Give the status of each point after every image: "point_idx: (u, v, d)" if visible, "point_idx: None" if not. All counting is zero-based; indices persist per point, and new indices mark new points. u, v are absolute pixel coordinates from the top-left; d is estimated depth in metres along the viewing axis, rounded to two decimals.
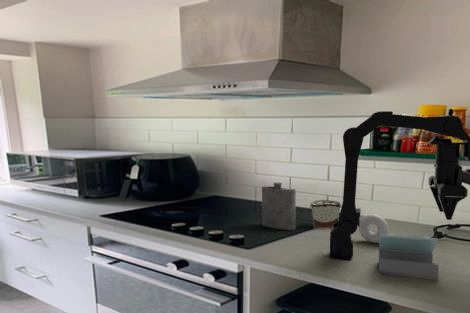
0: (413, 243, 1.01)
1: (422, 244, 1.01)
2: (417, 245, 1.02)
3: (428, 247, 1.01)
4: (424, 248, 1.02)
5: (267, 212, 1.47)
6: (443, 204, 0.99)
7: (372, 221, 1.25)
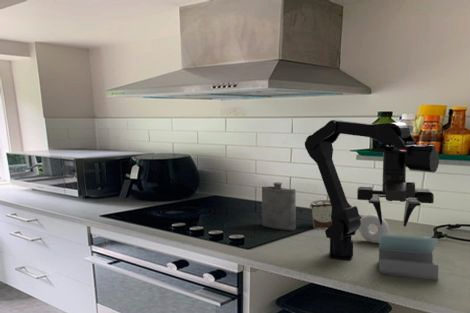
0: (413, 243, 1.01)
1: (422, 244, 1.01)
2: (417, 245, 1.02)
3: (428, 247, 1.01)
4: (424, 248, 1.02)
5: (267, 212, 1.47)
6: None
7: (372, 221, 1.25)
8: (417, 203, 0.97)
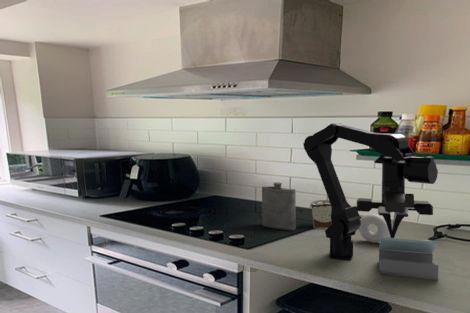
0: (413, 245, 1.01)
1: (422, 246, 1.00)
2: (417, 247, 1.01)
3: (428, 249, 1.01)
4: (424, 249, 1.02)
5: (267, 212, 1.47)
6: None
7: (372, 221, 1.25)
8: (405, 214, 0.97)
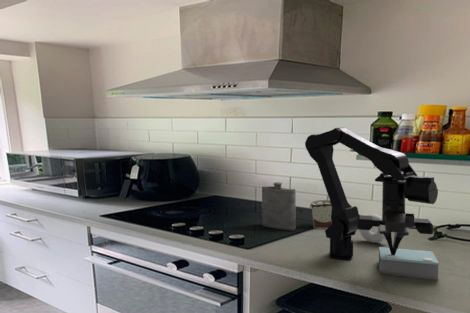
0: None
1: None
2: None
3: None
4: None
5: (267, 212, 1.47)
6: None
7: None
8: (405, 233, 0.98)
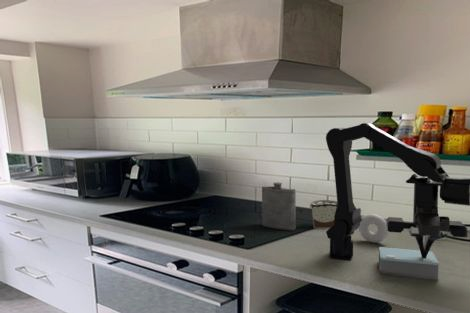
0: None
1: None
2: None
3: None
4: None
5: (267, 212, 1.47)
6: None
7: (372, 221, 1.25)
8: (438, 236, 0.96)
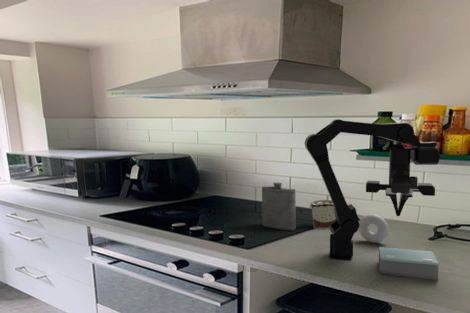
0: None
1: None
2: None
3: None
4: None
5: (267, 212, 1.47)
6: None
7: (372, 221, 1.25)
8: (409, 195, 1.08)
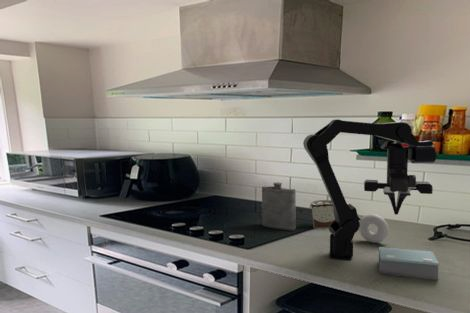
0: None
1: None
2: None
3: None
4: None
5: (267, 212, 1.47)
6: None
7: (372, 221, 1.25)
8: (407, 193, 1.09)
